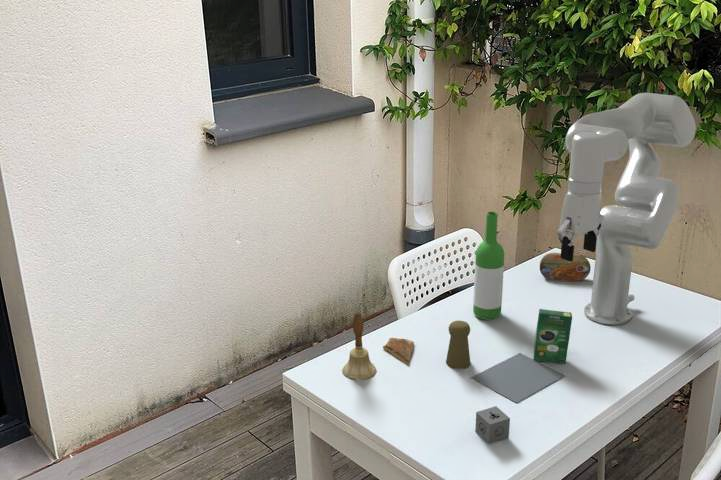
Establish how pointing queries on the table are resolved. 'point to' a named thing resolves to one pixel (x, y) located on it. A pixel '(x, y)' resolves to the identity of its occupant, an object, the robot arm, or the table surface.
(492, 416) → the dice cube
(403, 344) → the shard
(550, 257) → the tin
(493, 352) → the table surface
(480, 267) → the wine bottle
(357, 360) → the hand bell
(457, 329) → the cork
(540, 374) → the slate mat
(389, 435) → the table surface
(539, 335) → the coffee box
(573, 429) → the table surface
